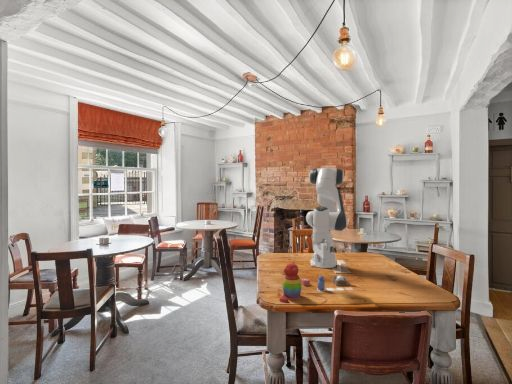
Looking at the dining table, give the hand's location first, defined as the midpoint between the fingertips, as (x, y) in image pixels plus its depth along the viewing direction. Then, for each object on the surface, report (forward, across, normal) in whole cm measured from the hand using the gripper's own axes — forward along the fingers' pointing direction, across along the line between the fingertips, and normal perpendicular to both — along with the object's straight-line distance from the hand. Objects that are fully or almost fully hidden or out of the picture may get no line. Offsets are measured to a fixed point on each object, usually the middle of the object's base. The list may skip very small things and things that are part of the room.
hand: (321, 263), depth 156 cm
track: (+15, 0, -8) cm, 17 cm away
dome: (+14, +9, -13) cm, 21 cm away
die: (+15, +9, +6) cm, 19 cm away
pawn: (+14, 0, 0) cm, 14 cm away
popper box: (+15, +9, -14) cm, 22 cm away
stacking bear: (+15, -8, +18) cm, 25 cm away
